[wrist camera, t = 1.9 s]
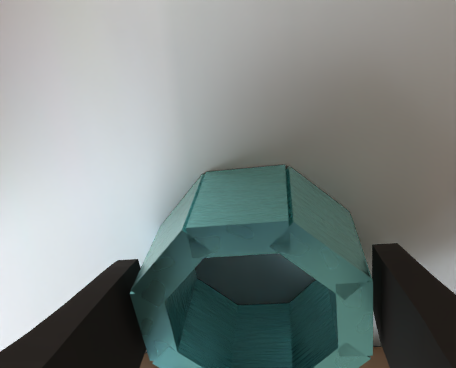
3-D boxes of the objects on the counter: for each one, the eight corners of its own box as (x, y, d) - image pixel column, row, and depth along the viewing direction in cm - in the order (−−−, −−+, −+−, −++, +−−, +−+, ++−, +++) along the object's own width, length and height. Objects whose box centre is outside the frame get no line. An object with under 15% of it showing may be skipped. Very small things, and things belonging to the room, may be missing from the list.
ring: (184, 325, 14) (163, 405, 12) (147, 177, 12) (111, 233, 9) (353, 319, 14) (373, 403, 11) (349, 158, 11) (372, 214, 8)
